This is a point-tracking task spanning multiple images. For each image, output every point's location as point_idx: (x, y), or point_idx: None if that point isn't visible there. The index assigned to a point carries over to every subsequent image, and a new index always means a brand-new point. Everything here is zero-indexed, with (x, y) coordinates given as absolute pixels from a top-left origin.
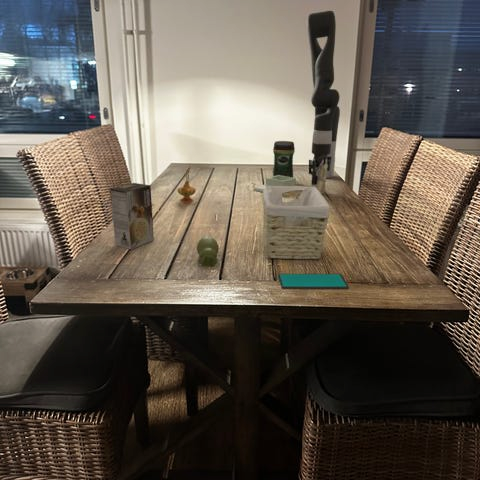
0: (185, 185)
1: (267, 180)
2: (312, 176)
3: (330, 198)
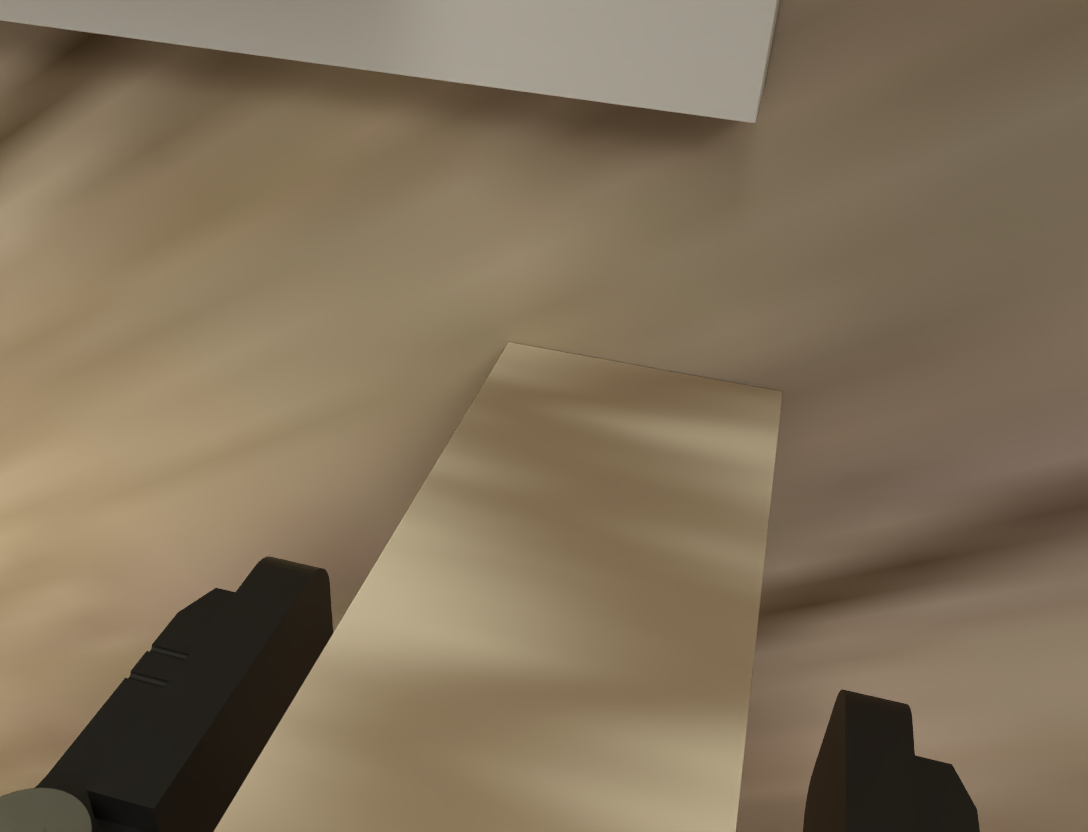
0: None
1: None
2: (56, 786)
3: None
